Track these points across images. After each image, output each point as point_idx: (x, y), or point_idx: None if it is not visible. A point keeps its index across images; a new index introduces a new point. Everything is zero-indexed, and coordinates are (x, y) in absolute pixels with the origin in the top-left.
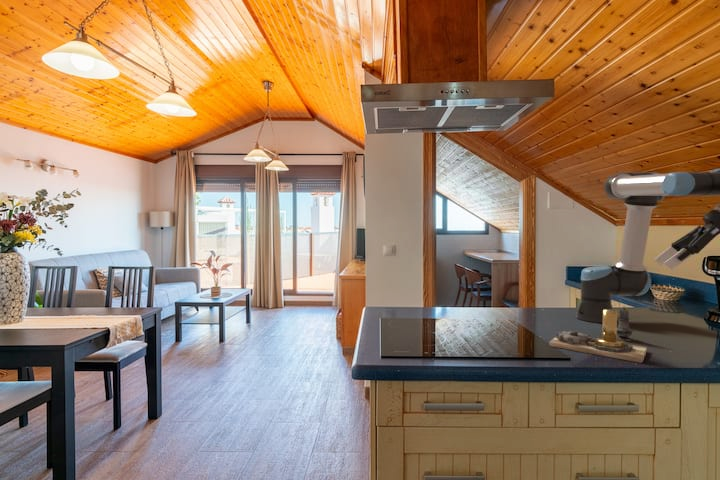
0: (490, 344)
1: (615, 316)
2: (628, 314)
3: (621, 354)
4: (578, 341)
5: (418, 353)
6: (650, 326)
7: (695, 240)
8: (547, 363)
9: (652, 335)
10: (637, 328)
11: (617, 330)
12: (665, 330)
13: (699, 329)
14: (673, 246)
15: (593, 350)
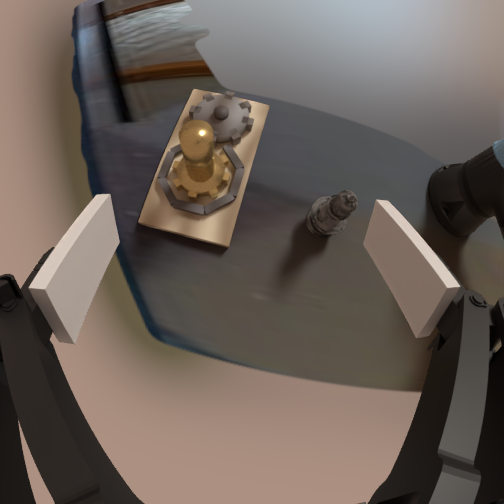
0: (173, 39)
1: (184, 150)
2: (342, 212)
3: (149, 190)
4: None
5: (115, 10)
6: None
7: (23, 417)
8: (99, 101)
9: (382, 286)
10: None
11: (317, 201)
12: None
13: None
14: (459, 306)
15: (166, 149)
